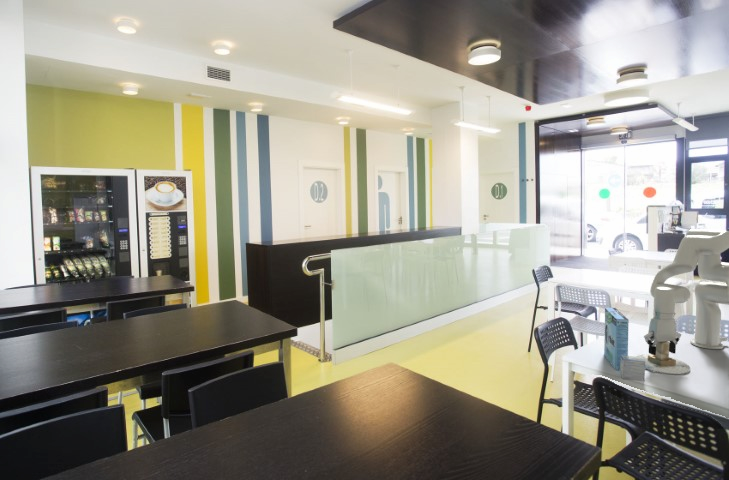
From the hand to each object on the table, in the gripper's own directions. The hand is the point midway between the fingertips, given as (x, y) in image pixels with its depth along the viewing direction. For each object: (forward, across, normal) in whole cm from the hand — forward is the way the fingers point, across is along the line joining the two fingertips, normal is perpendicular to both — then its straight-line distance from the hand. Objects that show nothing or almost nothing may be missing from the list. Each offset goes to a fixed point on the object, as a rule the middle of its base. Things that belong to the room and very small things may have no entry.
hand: (661, 353), depth 182 cm
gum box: (+6, +17, -7) cm, 19 cm away
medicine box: (+6, +22, +9) cm, 24 cm away
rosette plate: (+5, 0, 0) cm, 5 cm away
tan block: (+4, 0, 0) cm, 4 cm away
